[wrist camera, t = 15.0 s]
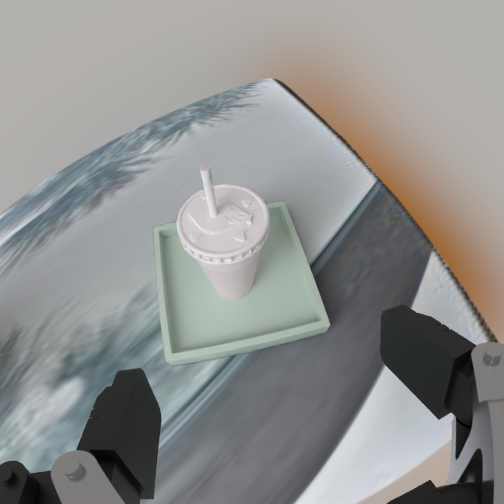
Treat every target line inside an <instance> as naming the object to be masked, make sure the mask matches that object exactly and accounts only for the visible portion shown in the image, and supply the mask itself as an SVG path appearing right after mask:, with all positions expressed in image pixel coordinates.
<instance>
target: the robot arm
mask: <svg viewBox="0 0 504 504" xmlns="http://www.w3.org/2000/svg"><path fill="white" fill-rule="evenodd" d="M380 351H381V357H382V360H383V362H384V364H385V365H386V366H387V367H388V368H389V369H390V370H391V371H392V372H393V373H394V374H395V375H396V376H397V377H398V378H399V379H400V380H401V381H402V382H403V383H404V384H405V385H406V387H407V388H408V389H409V390H410V391H411V392H412V393H413V394H414V395H415V396H416V397H417V398H418V399H419V400H420V401H421V402H422V403H423V404H424V405H425V406H426V407H427V408H428V409H429V410H430V411H431V412H432V413H433V414H434V415H435V416H436V417H437V418H438V419H441V418H443V417H444V416H446V415H447V414H449V413H453V414H454V418H453V421H452V450H451V465H450V471H449V475H448V478H447V481H446V484H445V486H441V487H437V488H436V487H435V485H434V484H433V483H432V481H431V480H429V481H427V482H425V483H424V484H422V485H420V486H418V487H416V488H415V489H413V490H411V491H409V492H407V493H405V494H403V495H402V496H400V497H397V498H396V499H393V500H391V501H390V502H388V503H387V504H504V345H503V344H500V343H496V342H486V343H482V344H479V345H478V346H476V345H475V344H473V343H472V342H470V341H469V340H467V339H466V338H464V337H463V336H461V335H459V334H458V333H456V332H455V331H453V330H452V329H450V330H449V328H448V327H447V326H445V325H444V324H441V323H440V322H439V321H437V320H436V319H434V318H432V317H430V316H427V315H423V314H420V313H416V312H415V311H413V310H412V309H410V308H409V307H407V306H405V305H399V306H396V307H393V308H391V309H388V310H385V311H383V312H382V315H381V344H380ZM89 417H90V419H88V421H87V424H86V426H85V429H84V431H83V434H82V437H81V439H80V442H79V444H78V447H77V450H76V451H71V452H68V453H65V454H63V455H62V456H60V457H59V458H58V459H57V460H56V461H55V463H54V464H53V466H52V469H51V471H45V472H38V473H30V472H29V471H28V470H27V469H26V468H25V466H24V465H23V464H22V463H20V462H18V461H8V462H5V463H3V464H1V465H0V504H140V499H154V488H155V476H156V465H157V455H158V446H159V437H160V428H161V412H160V408H159V405H158V402H157V400H156V398H155V396H154V394H153V392H152V389H151V387H150V385H149V383H148V380H147V378H146V376H145V373H144V371H143V370H142V369H141V368H136V369H128V370H120V371H118V372H117V374H116V377H115V379H114V382H113V384H112V386H110V387H106V388H105V389H104V391H103V392H102V393H101V394H100V395H99V396H98V397H97V399H96V402H95V404H94V406H93V410H92V411H91V414H90V416H89Z"/></svg>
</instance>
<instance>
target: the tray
mask: <svg viewBox="0 0 504 504" xmlns="http://www.w3.org/2000/svg"><path fill="white" fill-rule="evenodd" d="M266 205H267V207H268V210H269V218H270V231H269V234H268V238H267V240H266V241H265V243H264V244H263V246H262V247H261V251H260V255H259V259H258V264H257V268H256V273H255V277H254V281H253V286H252V288H251V290H250V291H249V293H248V294H246V295H245V296H243V297H241V298H238V299H227V298H224V297H222V296H221V295H220V294H219V293H218V292H217V291H216V289H215V288H214V286H213V285H212V283H211V282H210V280H209V279H208V277H207V276H206V274H205V272H204V271H203V269H202V268H201V266H200V265H199V263H198V261H197V260H196V259H195V258H194V257H192V256H191V255H190V254H189V253H188V252H187V251H186V250H185V249H184V247H183V245H182V243H181V242H180V238H179V234H178V231H177V222H174V223H169V224H165V225H160V226H156V227H153V236H154V254H155V269H156V282H157V293H158V303H159V313H160V322H161V330H162V338H163V346H164V353H165V360H166V362H167V363H168V364H170V365H171V366H180V365H186V364H191V363H197V362H203V361H208V360H213V359H218V358H223V357H228V356H233V355H238V354H242V353H247V352H252V351H256V350H260V349H265V348H269V347H273V346H277V345H281V344H285V343H289V342H293V341H297V340H300V339H304V338H308V337H311V336H315V335H319V334H322V333H325V332H326V331H327V329H328V328H329V326H330V322H329V319H328V316H327V314H326V311H325V308H324V305H323V302H322V299H321V297H320V294H319V291H318V288H317V285H316V283H315V280H314V277H313V274H312V272H311V269H310V266H309V264H308V261H307V258H306V256H305V253H304V250H303V248H302V245H301V242H300V240H299V237H298V235H297V232H296V229H295V227H294V224H293V222H292V219H291V217H290V214H289V212H288V209H287V207H286V204H285V202H284V201H281V202H275V203H270V204H266Z"/></svg>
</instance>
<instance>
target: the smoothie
mask: <svg viewBox="0 0 504 504" xmlns="http://www.w3.org/2000/svg"><path fill="white" fill-rule="evenodd" d="M200 171H201V176H202V181H203V186H204V189H201V190H200V191H198V192H196V193H195V194H193V195H192V196H191V197H189V198H188V199H187V200H186V202H185V203H184V204H183V206H182V207H181V209H180V211H179V213H178V217H177V231H178V234H179V238H180V242H181V243H182V245H183V247H184V249H185V250H186V251H187V252H188V253H189V254H190V255H191V256H192V257H194V258H195V259H196V260H197V261H198V263H199V265H200V266H201V268H202V269H203V271H204V272H205V274H206V276H207V277H208V279H209V280H210V282H211V283H212V285H213V286H214V288H215V289H216V291H217V292H218V293H219V294H220V295H221V296H222V297H224V298H227V299H238V298H241V297H243V296H245V295H246V294H248V293H249V291H250V290H251V288H252V286H253V281H254V277H255V273H256V268H257V264H258V259H259V255H260V251H261V247H262V246H263V244H264V243H265V241H266V240H267V238H268V234H269V231H270V218H269V210H268V207H267V205H266V203H265V201H264V200H263V199H262V198H261V197H260V196H259V195H258V194H257V193H256V192H254V191H253V190H251V189H249V188H247V187H244V186H241V185H236V184H217V185H213V183H212V178H211V172H210V166H209V165H202V166H201V167H200Z"/></svg>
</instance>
